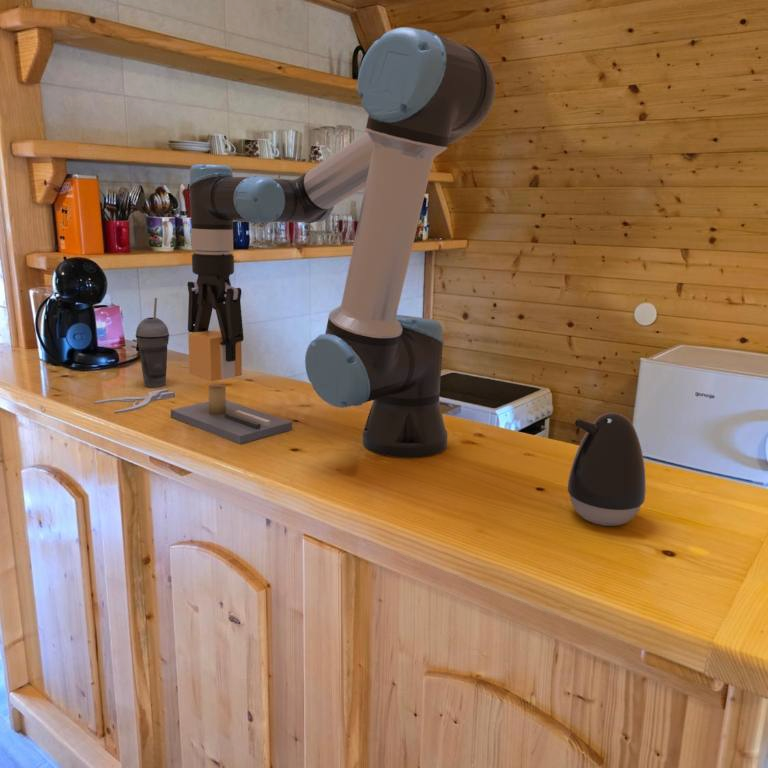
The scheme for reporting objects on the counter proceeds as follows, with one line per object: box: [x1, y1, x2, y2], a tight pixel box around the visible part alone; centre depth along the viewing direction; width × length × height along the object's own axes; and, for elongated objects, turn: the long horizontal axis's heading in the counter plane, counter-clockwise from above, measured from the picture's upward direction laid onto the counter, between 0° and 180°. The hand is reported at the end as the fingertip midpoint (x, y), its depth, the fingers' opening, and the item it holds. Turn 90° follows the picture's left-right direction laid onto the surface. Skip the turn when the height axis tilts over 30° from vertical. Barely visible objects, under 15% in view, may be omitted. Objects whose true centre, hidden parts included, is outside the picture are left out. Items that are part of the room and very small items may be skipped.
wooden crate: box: [187, 328, 243, 382], centre depth 132 cm, size 7×7×8 cm
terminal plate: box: [170, 384, 293, 445], centre depth 132 cm, size 22×12×6 cm, turn 49°
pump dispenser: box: [567, 412, 647, 527], centre depth 94 cm, size 10×10×15 cm
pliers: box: [93, 388, 176, 414], centre depth 145 cm, size 10×2×15 cm
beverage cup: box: [135, 297, 170, 388], centre depth 156 cm, size 7×7×20 cm
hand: (215, 373), depth 133 cm, fingers closed on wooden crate, 7 cm apart
